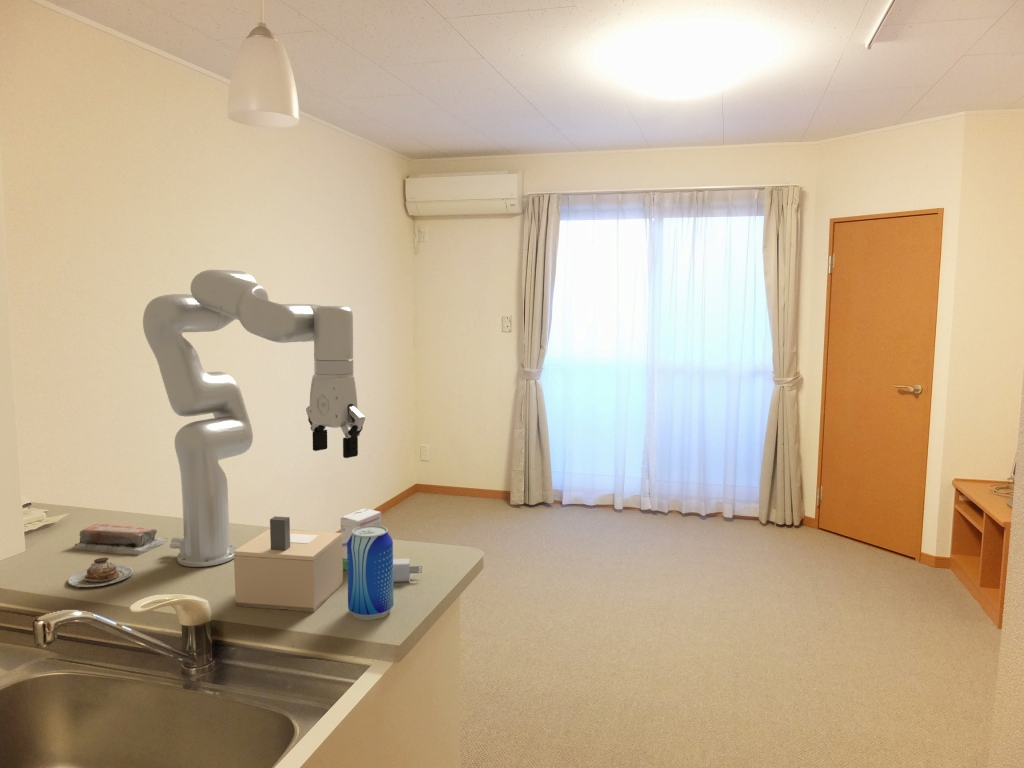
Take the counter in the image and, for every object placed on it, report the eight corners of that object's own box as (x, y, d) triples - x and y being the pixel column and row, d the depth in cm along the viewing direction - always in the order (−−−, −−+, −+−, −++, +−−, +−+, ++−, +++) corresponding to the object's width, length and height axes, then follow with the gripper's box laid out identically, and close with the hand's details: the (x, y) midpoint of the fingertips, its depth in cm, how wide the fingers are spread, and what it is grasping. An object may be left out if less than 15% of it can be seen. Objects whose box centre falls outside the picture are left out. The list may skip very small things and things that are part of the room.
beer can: (361, 600, 141) (360, 521, 139) (400, 606, 138) (400, 525, 137) (339, 618, 133) (338, 534, 131) (380, 624, 130) (379, 539, 129)
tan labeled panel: (233, 555, 137) (232, 520, 136) (269, 532, 150) (268, 500, 150) (313, 560, 134) (312, 525, 133) (342, 536, 148) (341, 504, 147)
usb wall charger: (389, 576, 154) (389, 558, 153) (421, 575, 155) (421, 557, 154) (388, 583, 150) (388, 564, 149) (421, 582, 151) (421, 563, 150)
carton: (235, 606, 138) (233, 555, 137) (270, 578, 151) (269, 532, 150) (314, 612, 135) (313, 561, 134) (342, 583, 149) (342, 537, 148)
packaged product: (71, 531, 168) (103, 519, 177) (72, 551, 168) (104, 538, 178) (138, 536, 164) (167, 523, 174) (139, 557, 165) (168, 543, 174)
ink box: (358, 573, 155) (357, 520, 154) (340, 569, 157) (339, 517, 156) (382, 561, 162) (382, 510, 161) (365, 557, 165) (364, 507, 163)
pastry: (106, 593, 144) (105, 571, 144) (53, 589, 146) (52, 567, 146) (145, 572, 156) (144, 551, 155) (96, 568, 158) (95, 548, 157)
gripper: (291, 366, 144) (293, 450, 146) (346, 373, 134) (347, 463, 136) (322, 364, 150) (323, 444, 152) (377, 370, 139) (377, 456, 141)
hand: (335, 453), depth 144 cm, fingers open, 9 cm apart
